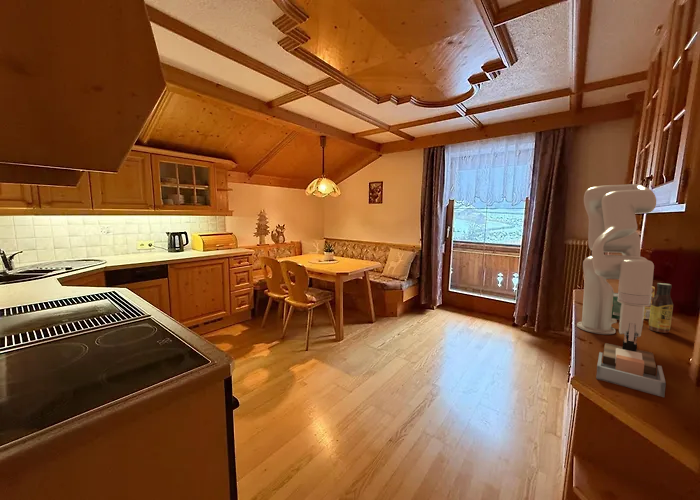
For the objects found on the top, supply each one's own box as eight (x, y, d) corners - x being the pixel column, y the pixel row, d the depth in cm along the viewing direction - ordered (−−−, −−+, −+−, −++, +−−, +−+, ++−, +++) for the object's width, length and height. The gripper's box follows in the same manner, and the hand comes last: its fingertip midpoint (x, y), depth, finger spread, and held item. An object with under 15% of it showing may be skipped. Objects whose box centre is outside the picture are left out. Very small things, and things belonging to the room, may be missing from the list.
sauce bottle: (662, 334, 119) (667, 286, 117) (644, 328, 125) (648, 282, 123) (674, 332, 120) (679, 285, 118) (656, 327, 126) (660, 281, 124)
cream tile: (615, 354, 96) (615, 347, 95) (641, 360, 92) (641, 353, 91) (615, 363, 92) (615, 356, 92) (641, 369, 88) (642, 362, 88)
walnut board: (604, 350, 106) (604, 342, 105) (652, 361, 98) (652, 352, 97) (602, 364, 96) (603, 355, 96) (655, 377, 88) (656, 368, 88)
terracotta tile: (616, 354, 91) (616, 357, 90) (643, 360, 87) (644, 364, 86) (615, 369, 92) (615, 373, 90) (642, 376, 88) (642, 379, 86)
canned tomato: (599, 314, 144) (601, 292, 142) (616, 314, 143) (618, 292, 142) (613, 320, 136) (615, 296, 134) (631, 320, 135) (633, 296, 134)
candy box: (652, 319, 135) (656, 287, 134) (642, 319, 136) (645, 286, 134) (637, 313, 144) (640, 282, 142) (627, 313, 145) (630, 282, 143)
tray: (598, 363, 97) (599, 352, 97) (660, 378, 88) (661, 366, 87) (596, 378, 88) (597, 366, 88) (664, 397, 79) (665, 383, 78)
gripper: (617, 291, 101) (613, 343, 103) (617, 301, 90) (612, 359, 92) (649, 295, 96) (644, 349, 97) (652, 306, 85) (647, 367, 87)
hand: (628, 354), depth 95 cm, fingers closed
